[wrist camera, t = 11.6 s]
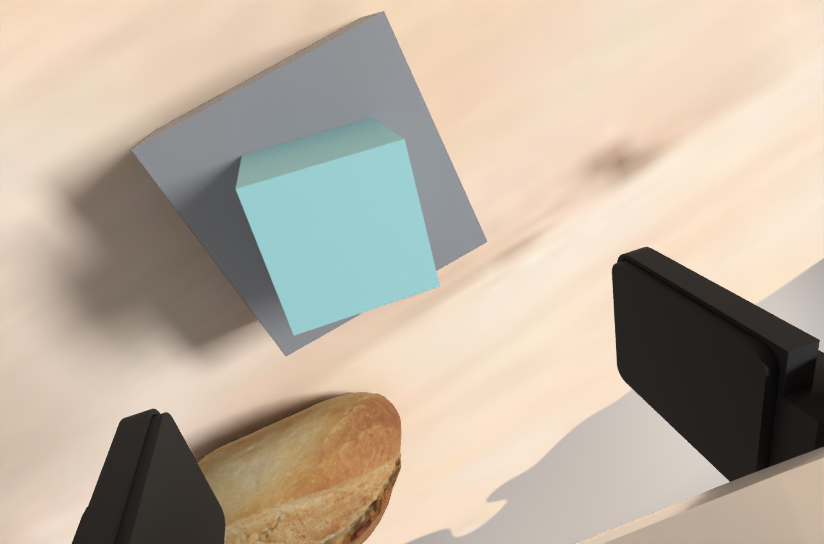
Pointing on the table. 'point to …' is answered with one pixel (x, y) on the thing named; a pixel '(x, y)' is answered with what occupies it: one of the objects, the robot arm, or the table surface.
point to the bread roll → (310, 474)
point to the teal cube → (337, 222)
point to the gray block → (294, 119)
